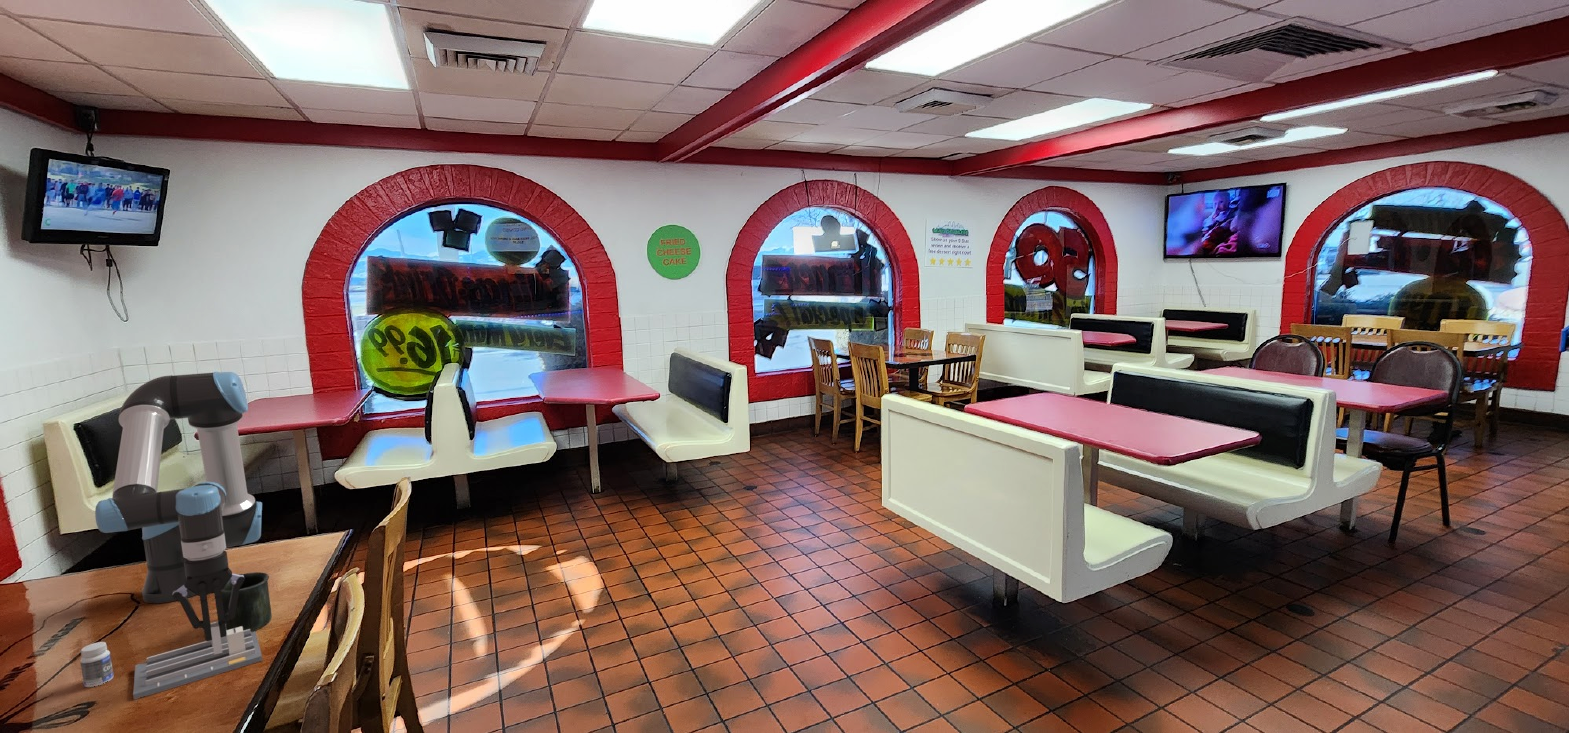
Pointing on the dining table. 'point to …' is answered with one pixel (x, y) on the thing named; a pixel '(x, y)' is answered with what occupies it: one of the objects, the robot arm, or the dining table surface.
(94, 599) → the dining table surface
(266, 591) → the mug
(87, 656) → the pill bottle
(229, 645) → the fader cap
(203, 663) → the console
